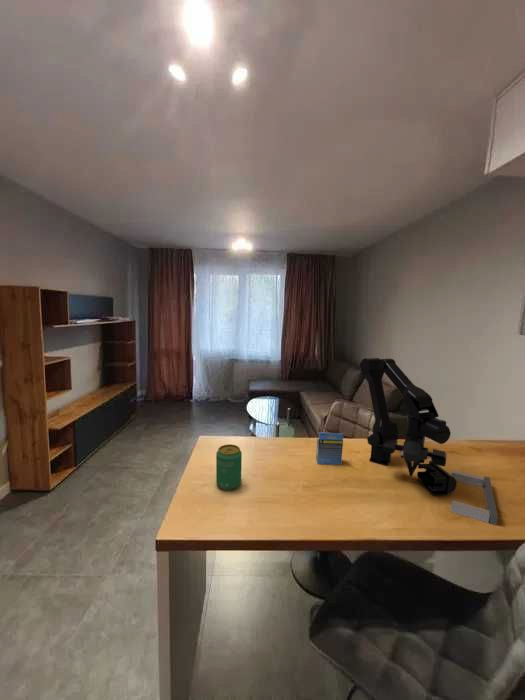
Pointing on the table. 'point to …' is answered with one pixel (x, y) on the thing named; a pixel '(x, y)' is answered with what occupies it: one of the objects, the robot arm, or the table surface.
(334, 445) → the label tape box
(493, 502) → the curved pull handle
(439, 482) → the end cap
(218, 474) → the beverage can
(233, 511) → the table surface
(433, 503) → the table surface
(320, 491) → the table surface
